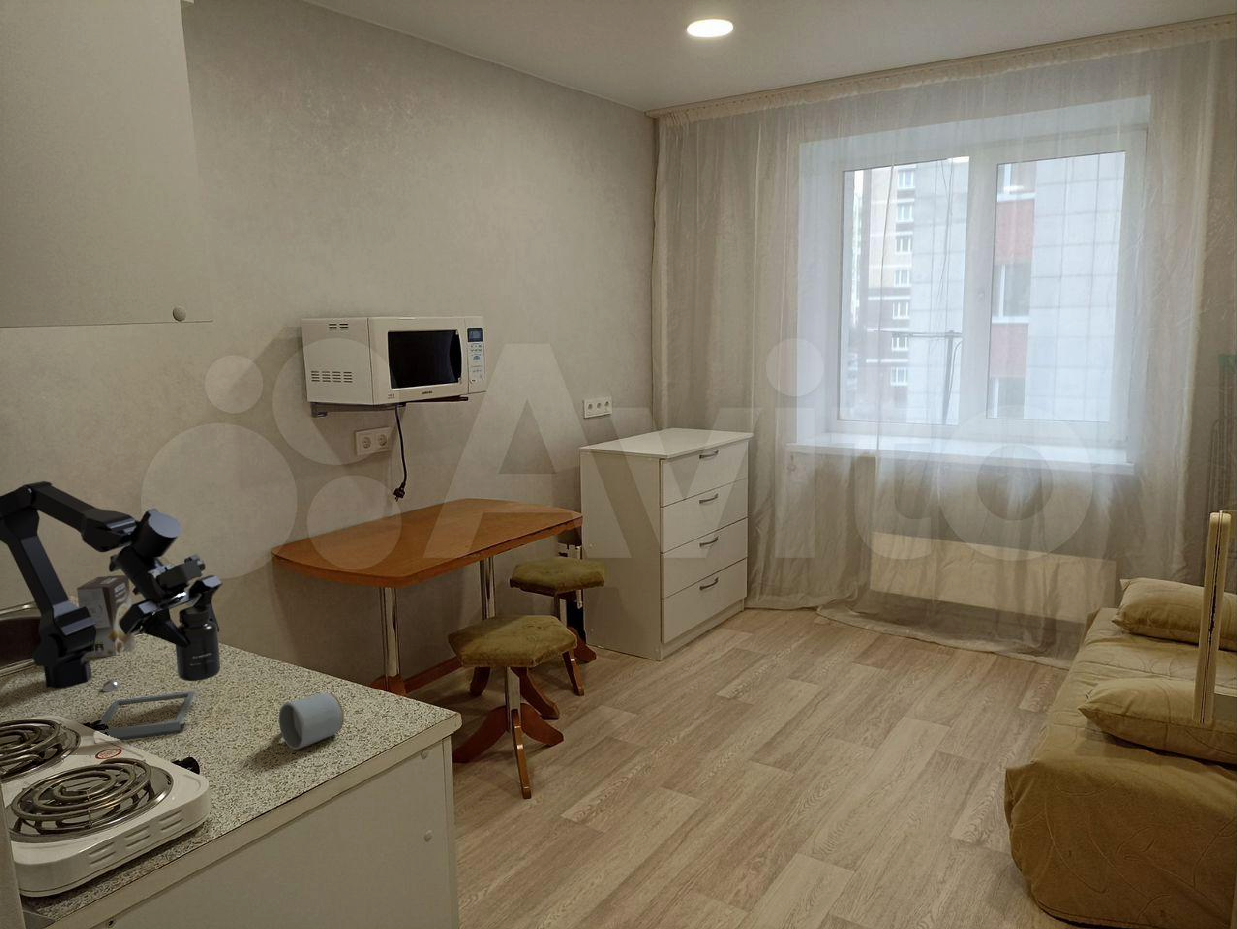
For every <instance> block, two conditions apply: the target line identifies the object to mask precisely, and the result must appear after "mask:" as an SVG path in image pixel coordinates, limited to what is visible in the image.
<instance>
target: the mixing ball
mask: <svg viewBox="0 0 1237 929" xmlns="http://www.w3.org/2000/svg"><path fill="white" fill-rule="evenodd" d="M121 688H122V685H121V682H119V681H118V680H116V679H111V680H108V681H105V683H104V684H103V686H102V692H104V693H110V692H115V691H118V690H119V689H121Z"/></svg>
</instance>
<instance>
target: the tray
mask: <svg viewBox="0 0 1237 929" xmlns="http://www.w3.org/2000/svg"><path fill="white" fill-rule="evenodd" d="M195 694H196V693H195V690H193V691H191V690H190V691H183V692H177V693H167V694H158V695H150V696H149V695H148V696H142V697H133V698H125V699H124V698H123V699H117V700H114V702H113V703H112V704H111V706H110V707H109V709H108V711H107V712H106V713H105V715H104V716H103V718H102V719H101V721H100V722H99V723H102V724H105V726H106V725H107V724H108V722H109V721H110V719H111V718H112V716H113V715H114V713H115V712H116V710H117V709H118V708H119V705H126V704H127V705H128V704H136V703H143V702H151V701H161V700H169V699H178V698H185V697H186V698H185V700H184V702H183V704H182V706H181V708H180V710H179V712H178V715H177V716H176V718H175V720H168V721H161V722H153V723H144V724H137V725H127V726H121V727H120V726H119V727H114V728H113V727H111V728H106V729H105V728H104V729H105V730H100V732H102V733H105V732H107V734H108V735H110V736H111V737H114V738H117V739H120V740H122V741H127V740H128V741H129V740H136V739H137V740H138V739H143V738H151V737H159V736H168V735H174V734H175V735H176V734H181V733H182V731H183V729H184V727H185V725H186V723H185V722H184V723H182V721H183V719H184V717H185V715H186V713H187V711H188V710H189V707H190V704H191V702H192V701H193V699H194V696H195Z"/></svg>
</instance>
